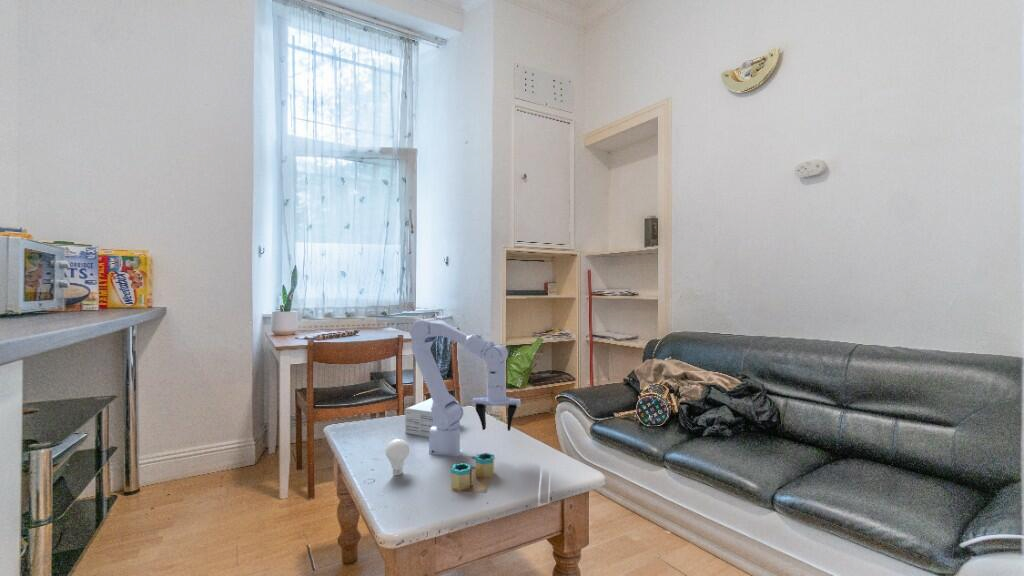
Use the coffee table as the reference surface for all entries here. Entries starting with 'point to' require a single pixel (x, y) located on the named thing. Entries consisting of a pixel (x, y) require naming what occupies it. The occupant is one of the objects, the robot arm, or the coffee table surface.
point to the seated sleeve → (461, 476)
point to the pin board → (477, 484)
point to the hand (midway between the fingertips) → (496, 429)
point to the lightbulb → (397, 454)
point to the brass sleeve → (484, 465)
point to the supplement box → (419, 418)
